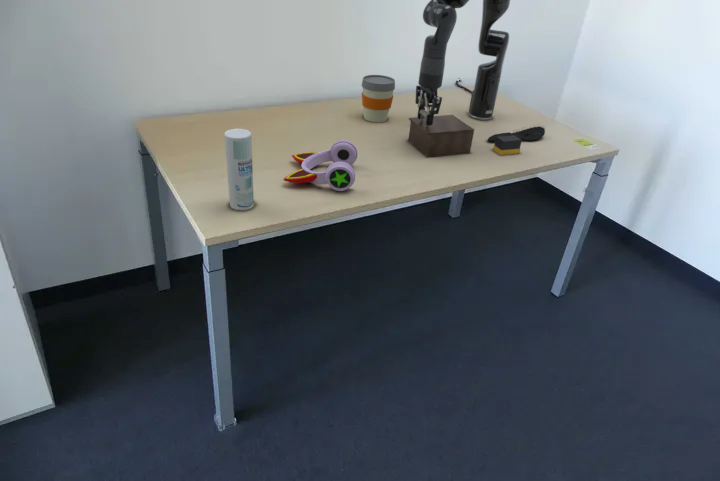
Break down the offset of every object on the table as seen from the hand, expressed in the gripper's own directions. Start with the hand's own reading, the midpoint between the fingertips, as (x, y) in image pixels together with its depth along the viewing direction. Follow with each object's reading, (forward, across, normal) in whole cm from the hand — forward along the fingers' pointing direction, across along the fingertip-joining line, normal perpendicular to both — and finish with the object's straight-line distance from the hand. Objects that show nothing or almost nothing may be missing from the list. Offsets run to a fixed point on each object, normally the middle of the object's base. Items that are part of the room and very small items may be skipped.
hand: (424, 121), depth 177 cm
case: (+10, 0, -7) cm, 12 cm away
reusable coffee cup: (+10, +31, +4) cm, 33 cm away
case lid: (+2, 0, -6) cm, 7 cm away
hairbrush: (+10, +1, -40) cm, 41 cm away
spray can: (+10, -25, +66) cm, 71 cm away
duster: (+10, -9, -29) cm, 32 cm away
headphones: (+10, -13, +40) cm, 43 cm away
